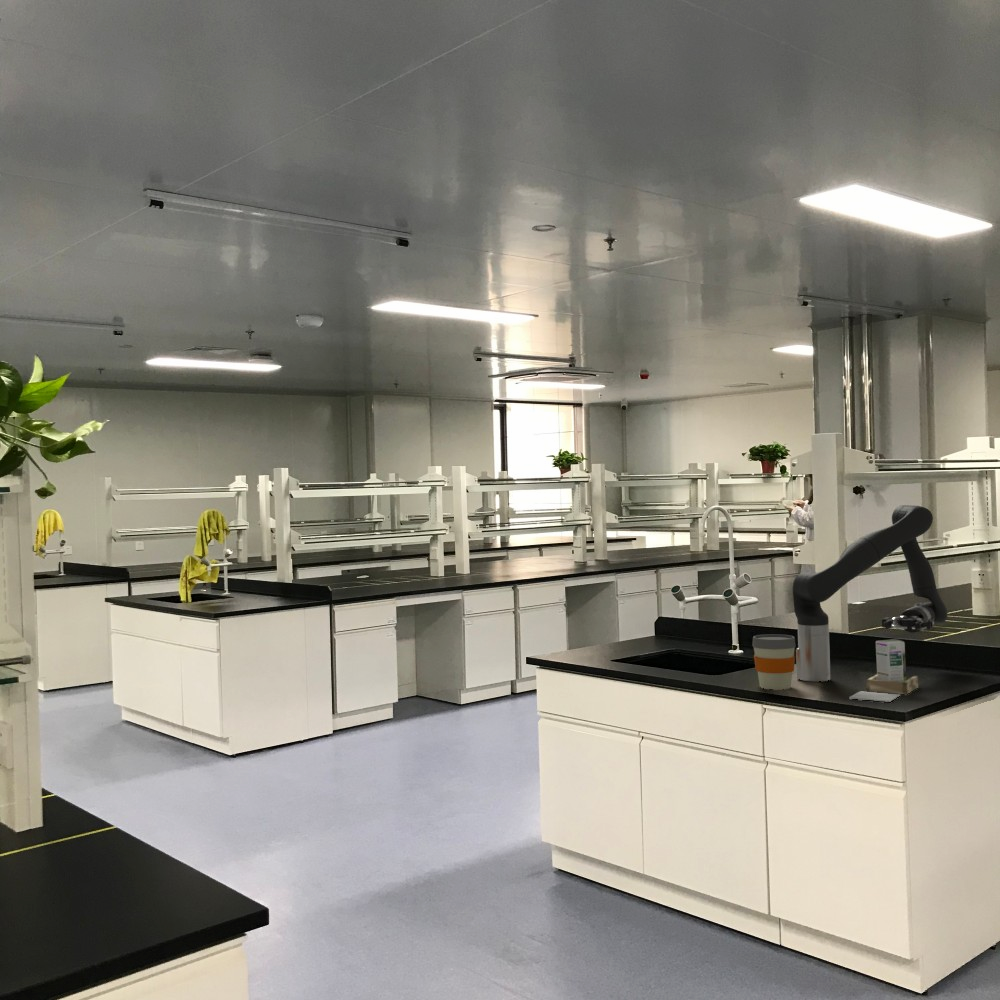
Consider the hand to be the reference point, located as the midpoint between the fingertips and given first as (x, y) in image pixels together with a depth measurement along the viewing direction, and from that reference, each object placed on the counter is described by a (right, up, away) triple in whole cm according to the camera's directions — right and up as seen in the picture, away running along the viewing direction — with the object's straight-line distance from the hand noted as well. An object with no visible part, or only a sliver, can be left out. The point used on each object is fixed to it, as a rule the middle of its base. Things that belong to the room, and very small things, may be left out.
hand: (901, 626), depth 296 cm
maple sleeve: (-6, -18, -9) cm, 21 cm away
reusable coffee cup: (-37, -19, +2) cm, 42 cm away
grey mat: (-15, -18, -19) cm, 30 cm away
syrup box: (-6, -18, -9) cm, 21 cm away
